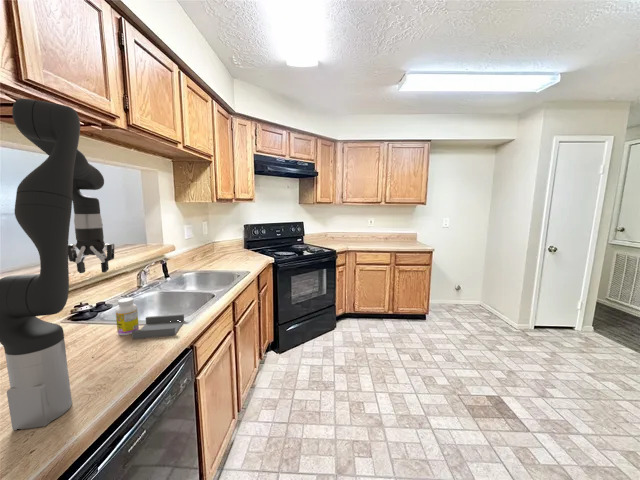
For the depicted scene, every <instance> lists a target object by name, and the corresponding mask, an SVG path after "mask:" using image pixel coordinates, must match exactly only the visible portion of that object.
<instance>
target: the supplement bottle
mask: <svg viewBox="0 0 640 480" xmlns="http://www.w3.org/2000/svg"><path fill="white" fill-rule="evenodd" d="M117 305H118V306H117V307H116V309H115V319H116V321H115V322H116V329H117V335H120V336H129V335H132V331H133V330H140V329H139V326H140V324H139V316H138V306H137V304H135V303H134V298H133V297H124V298H120V299H118V301H117Z"/></svg>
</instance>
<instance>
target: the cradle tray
mask: <svg viewBox="0 0 640 480" xmlns="http://www.w3.org/2000/svg"><path fill="white" fill-rule="evenodd" d="M177 320H179V321H181V322H179V321H177ZM170 321H171V322H170ZM183 321H185V314H182V313H181V314H169V315H168V314H166V315H156V316H155V315H154V316H153V315H152V316H146V317H145V324H144V325H143V326H142V327H141V329H138V330H133V331H132V334H131V338H132V340H140V339H150V338H161V337H175V335H176V334H177V333H178V331H179V330H180V328H181V326H182V325H183V323H184V322H183Z"/></svg>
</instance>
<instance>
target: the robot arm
mask: <svg viewBox="0 0 640 480" xmlns="http://www.w3.org/2000/svg"><path fill="white" fill-rule="evenodd" d="M11 112H12V113H11V114H12V119H13V123H14V125H15V126H16V128H17V130H19V132H20V134H22V135H23V136H24V137H25V138H26V139H27V140H29V141H30V142H31V143H32V144H33V145H35V146H36V147H37V148H38V149H40V150H41V151H43V153H45V154H46V155H48V157H47V158H46V159H45V160H44V161H43V162H42V163H41V164H39V165H38V166H37V167H36V168H35V169H33V170H32V171H31V172H30V173H28V174H27V175H26V176H25V177H24V178H23V179H22V180H21V181H20V183H19V184H18V186H17V189H16V194H15V195H16V196H15V202H14V203H15V205H14V217H15V219H16V221H17V223H18V225H19V226H20V228H21V229H22V230H23V232H24V233H25V234H26V235H27V237H28V238H29V239H30V240H31V242H32V243H33V244H34V247H36V249H37V251H38V255H39V261H40V262H39V263H40V269H39V272H40V273H35V274H34V273H33V274H31V273H30V274H18V275H17V274H16V275H15V274H14V275H8V276H3V277H1V278H0V344H1V346H3V348H4V349H3V350H4V354H5V362H6V369H7V375H8V383H9V387H10V388H8V389H7V391H6V397H7V403H8V410H9V416H10V423H11V429H13V430H14V431H18V430H17V429H21V430H26V429H35V428H42V427H46V426H48V424H49V423H51V422H52V421H54V420H56V419H58V418H60V417H61V416H62V415H64V414H65V413H67V411H68V410H70V408H72V405H73V400H72V392H71V384H70V375H69V369H68V368H69V365H68V357H67V350H66V342H65V341H66V340H65V333H64V329H63V326H62V325H60V324H58V323H54V322H50V321H45V320H43V319H40V318H39V317H41V316H50V315H57V314H59V313H60V312H62V311H63V310H64V308H65V307H66V305H67V302H68V298H69V292H70V278H69V277H70V275H69V274H70V273H69V262H73V263H76V269H77V272H78V273H79V274H83V273H86V265H85V259H86V257H88V256H96V257H97V259H99V260H100V266H101V267H100V268H101V273H103V274H104V273H107V272H108V271H109V261H112V260H114V259H115V244H114V243H106V242H105V241H104V229H103V228H104V227H103V226H104V225H103V219H102V216H101V205H100V200H99V199H98V198H97V197H94V196H89V195H85V194H83V193H82V192H81V190H83V191H84V190H85V191H87V190H88V191H96V190H100V189H102V188H103V187H104V184H105V179H104V175H103V174H102V172H100V170H99V169H98V168H97V167H95V166H93V165H92V164H90V162H89V161H88V160H87V158H86V157H85V155H84V154H83V152H82V151H81V150H79V149H78V147H79V142H80V136H81V135H80V133H81V122H80V121H81V119H80V117H79V113H78V112H77V111H76V110H75V109H74V108H73V107H70V106H69V105H64V104H59V103H54V102H48V101H44V100H38V99H31V98H19V99H16V100H15V101H14V102H13V105H12V110H11ZM72 207H73V208H72ZM72 209H73V214H74V216H73V218H74V219H73V224H74V234H75V240H76V243H75V244H73V243H71V244H69V236H70V225H71V218H72V217H71V216H72ZM104 248H105V250H106V252H105V251H104ZM77 250H79V252H78V253H77ZM13 430H12V431H13Z"/></svg>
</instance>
